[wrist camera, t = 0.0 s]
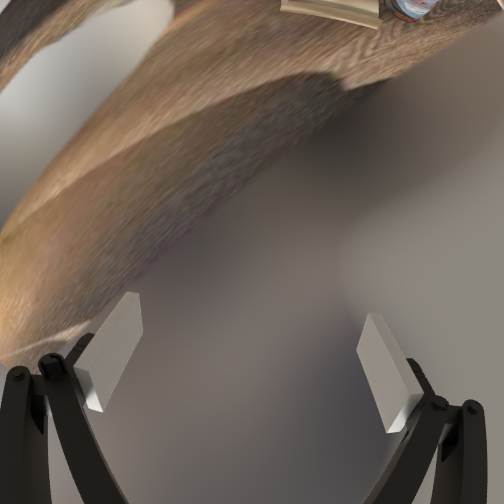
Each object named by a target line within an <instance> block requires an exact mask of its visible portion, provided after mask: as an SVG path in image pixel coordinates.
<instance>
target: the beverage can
mask: <svg viewBox="0 0 504 504" xmlns="http://www.w3.org/2000/svg"><path fill="white" fill-rule="evenodd" d="M440 1H441V0H385V3H386V6H387V8H388V9H389V10H390V12H391V13H392V14H393V15H395V16H396V17H397V18H399V19H401V20H403V21H406V22H416V21H418V20H419V19H420V18H421V17H422V16H424V15H425V14H426V13H427V12H428V11H429V10H431V9H432V8H433V7H434V6H435V5H437V4H438V3H439V2H440Z"/></svg>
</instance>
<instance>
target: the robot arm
mask: <svg viewBox="0 0 504 504" xmlns="http://www.w3.org/2000/svg"><path fill="white" fill-rule="evenodd" d="M142 334H143V326H142V318H141V310H140V300H139V293H133V292H126V293H125V295H124V296H123V297H122V299H121V300H120V302H119V303H118V304H117V306H116V307H115V308H114V309H113V311H112V312H111V314H110V315H109V316H108V318H107V319H106V320H105V322H104V323H103V325H102V326H101V327H100V329H99V330H98V331H97V333H96V334H92V333H87V334H85V335H84V336H82V337H81V338H80V339H79V340H78V342H77V343H76V345H75V346H74V347H73V349H72V351H70V353H69V354H68V355H67V357H66V358H65V360H64V358H63V356H61V355H60V354H57V353H49V354H47V355H44V356H43V357H42V358H40V360H39V362H38V367H39V370H40V372H41V374H42V375H33V374H31V373H30V371H29V369H28V368H27V367H25V366H16V367H14V368H12V369H11V370H10V371H9V372H8V374H7V377H6V382H5V386H4V391H3V397H2V402H1V408H0V504H52V500H51V491H50V480H49V465H48V416H53V420H54V424H55V427H56V430H57V434H58V437H59V440H60V443H61V446H62V449H63V452H64V455H65V458H66V460H67V463H68V466H69V469H70V471H71V474H72V476H73V479H74V481H75V484H76V486H77V488H78V490H79V493H80V495H81V497H82V500H83V502H84V504H129V503H128V501H127V499H126V498H125V496H124V494H123V492H122V491H121V489H120V487H119V485H118V483H117V482H116V480H115V478H114V476H113V474H112V472H111V470H110V468H109V466H108V464H107V462H106V460H105V458H104V456H103V454H102V452H101V449H100V447H99V445H98V443H97V440H96V438H95V436H94V434H93V431H92V429H91V426H90V424H89V421H88V419H87V416H86V414H85V411H84V409H83V405H84V403H85V401H86V402H87V405H88V407H89V408H90V409H93V410H97V411H100V412H104V409H105V407H106V405H107V403H108V401H109V399H110V397H111V395H112V393H113V391H114V389H115V387H116V384H117V383H118V381H119V378H120V377H121V375H122V372H123V370H124V369H125V367H126V365H127V362H128V361H129V359H130V357H131V355H132V353H133V351H134V349H135V347H136V345H137V343H138V341H139V339H140V338H141V336H142ZM356 350H357V353H358V355H359V358H360V361H361V363H362V366H363V368H364V371H365V374H366V376H367V379H368V382H369V385H370V387H371V390H372V393H373V396H374V398H375V401H376V404H377V406H378V410H379V412H380V415H381V418H382V421H383V424H384V427H385V430H386V433H392V432H399V431H401V429H402V428H403V426H404V425H405V424H406V427H407V429H408V430H407V431H406V433H405V434H404V436H403V437H402V438H401V440H400V441H399V443H400V444H399V446H398V448H397V450H396V451H395V453H394V455H393V457H392V459H391V460H390V462H389V464H388V465H387V467H386V469H385V471H384V472H383V474H382V476H381V477H380V479H379V481H378V482H377V484H376V485H375V487H374V488H373V490H372V491H371V493H370V494H369V496H368V497H367V499H366V500H365V502H364V503H363V504H412V502H413V500H414V498H415V496H416V494H417V492H418V490H419V488H420V485H421V483H422V481H423V479H424V476H425V475H426V472H427V470H428V468H429V465H430V463H431V460H432V458H433V456H434V453H435V451H436V448H437V445H438V452H437V462H436V471H435V479H434V485H433V491H432V497H431V503H430V504H486V503H487V440H486V427H485V416H484V409H483V407H482V405H481V404H480V403H479V402H477V401H475V400H466V401H465V402H464V403H463V405H462V406H452V405H449V403H448V401H447V400H446V399H445V398H443V397H441V396H438V395H435V393H434V391H433V389H432V387H431V385H430V384H429V382H428V380H427V378H425V375H424V373H423V372H422V369H421V367H420V366H419V364H418V363H417V362H416V361H415V360H413V359H412V358H405V356H404V354H403V353H402V351H401V349H400V347H399V345H398V344H397V342H396V340H395V338H394V337H393V335H392V333H391V331H390V330H389V328H388V326H387V325H386V323H385V321H384V319H383V318H382V316H381V314H380V313H368V316H367V319H366V322H365V325H364V328H363V331H362V335H361V338H360V341H359V344H358V347H357V349H356Z"/></svg>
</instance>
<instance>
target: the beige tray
mask: <svg viewBox="0 0 504 504" xmlns="http://www.w3.org/2000/svg"><path fill="white" fill-rule="evenodd" d="M280 11H287V12H295V13H302V14H309V15H315V16H321V17H326V18H332V19H337V20H341V21H346V22H350V23H355V24H359V25H363V26H367V27H371V28H374V29H377V28H379V27H380V26H381V25H382V20H381V19H379V9H378V0H281V8H280Z"/></svg>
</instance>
